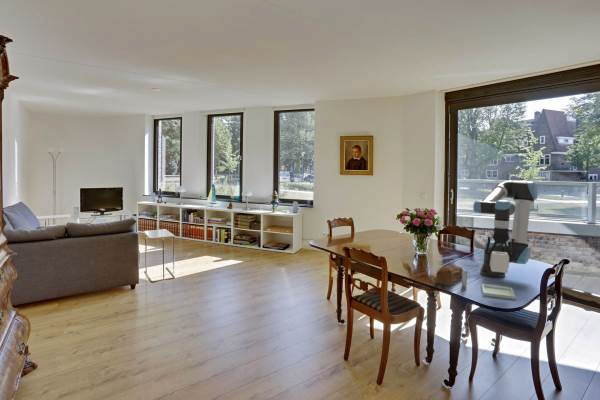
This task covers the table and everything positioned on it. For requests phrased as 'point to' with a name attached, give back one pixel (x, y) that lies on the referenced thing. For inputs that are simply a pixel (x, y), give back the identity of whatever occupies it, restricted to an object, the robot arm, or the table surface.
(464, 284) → the grey metal cylinder
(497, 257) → the hollow block
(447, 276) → the bread
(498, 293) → the tray
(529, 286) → the table surface
